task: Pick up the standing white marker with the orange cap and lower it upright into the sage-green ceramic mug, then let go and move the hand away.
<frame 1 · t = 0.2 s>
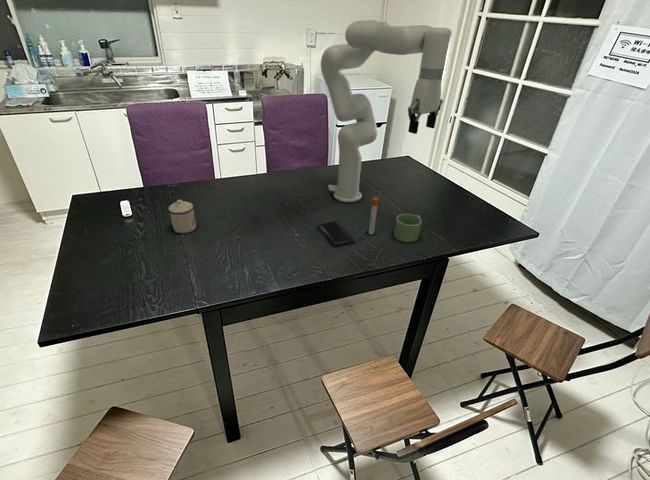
hand: (421, 130, 129), 37 cm above the table, tool pointing down, fingers open, 9 cm apart
mug: (406, 235, 144), on the table
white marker: (371, 233, 145), on the table
phone: (335, 234, 144), on the table
teacup with lid: (184, 226, 148), on the table
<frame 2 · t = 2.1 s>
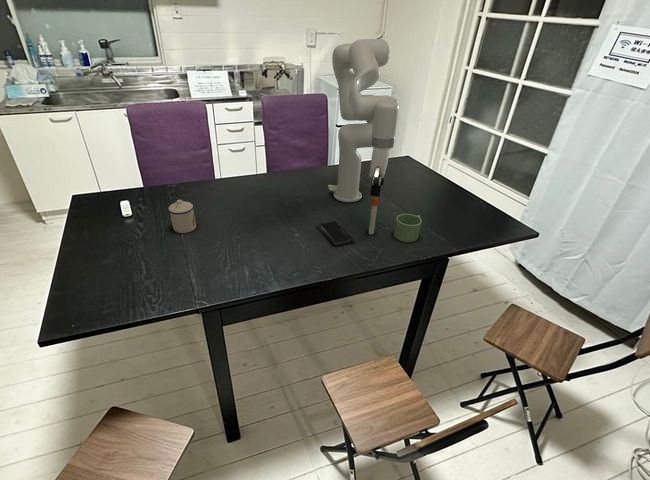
hand: (376, 190, 134), 18 cm above the table, tool pointing down, fingers open, 9 cm apart
nothing on the table moved.
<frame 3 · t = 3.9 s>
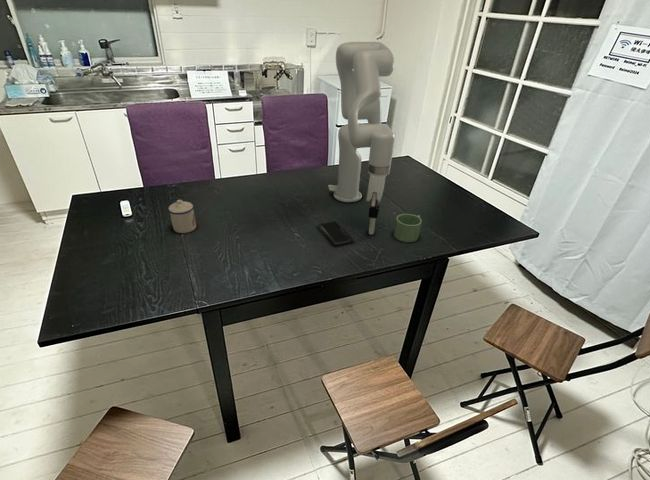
hand: (373, 215, 141), 8 cm above the table, tool pointing down, fingers closed on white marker, 2 cm apart
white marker: (371, 233, 145), on the table, touching gripper
everything else where it was.
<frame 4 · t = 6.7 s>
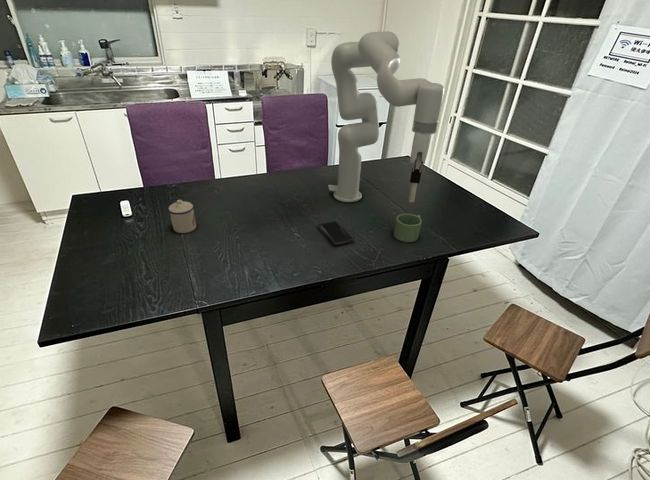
hand: (414, 180, 131), 22 cm above the table, tool pointing down, fingers closed on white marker
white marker: (411, 201, 135), point 15 cm above the table, touching gripper
everything else where it was.
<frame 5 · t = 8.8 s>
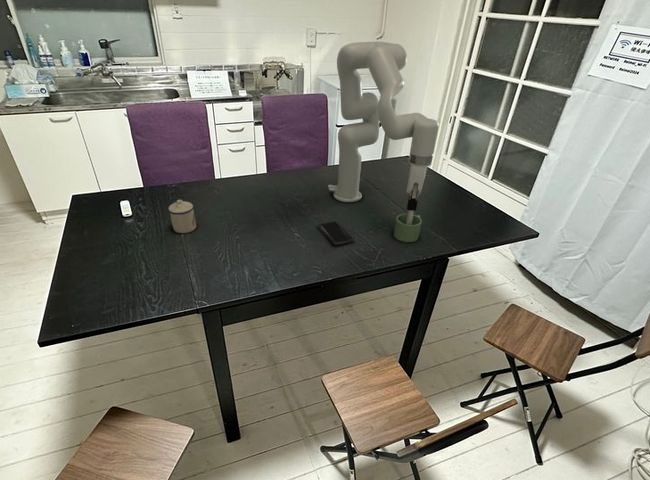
hand: (411, 208, 137), 12 cm above the table, tool pointing down, fingers closed on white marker
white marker: (408, 226, 141), point 4 cm above the table, touching gripper
everything else where it was.
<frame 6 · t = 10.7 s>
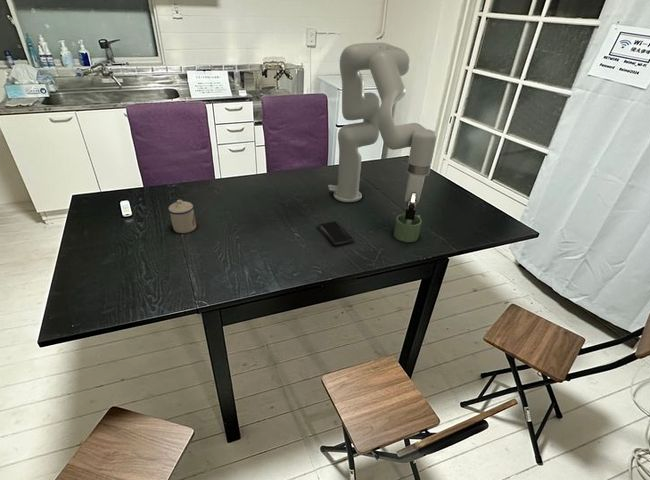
hand: (410, 213, 138), 10 cm above the table, tool pointing down, fingers open, 9 cm apart
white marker: (406, 234, 143), point 1 cm above the table, touching mug
everything else where it was.
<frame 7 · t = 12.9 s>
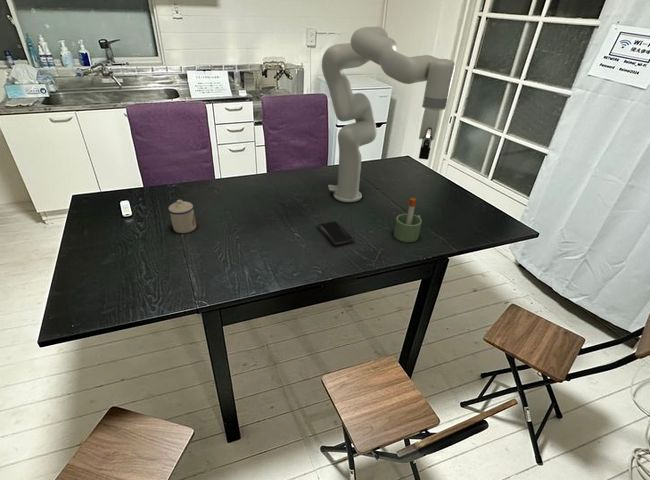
hand: (424, 154, 133), 29 cm above the table, tool pointing down, fingers open, 9 cm apart
nothing on the table moved.
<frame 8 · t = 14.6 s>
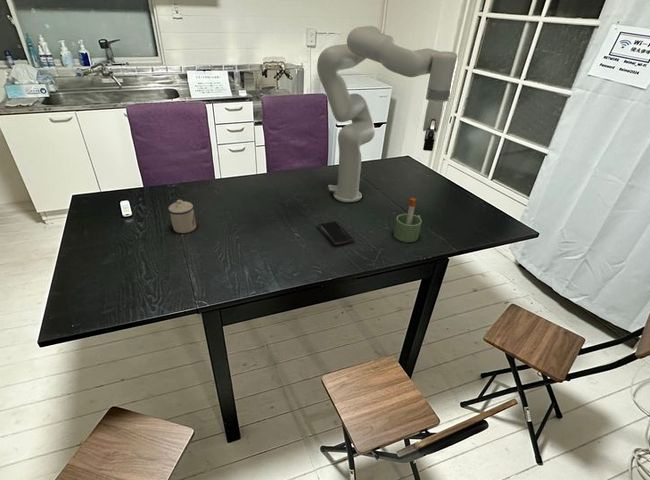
hand: (428, 146, 136), 30 cm above the table, tool pointing down, fingers open, 9 cm apart
nothing on the table moved.
at the end: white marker 0.1 cm off-centre in the mug, point 0.8 cm above the mug's base; the gripper is holding nothing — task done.
